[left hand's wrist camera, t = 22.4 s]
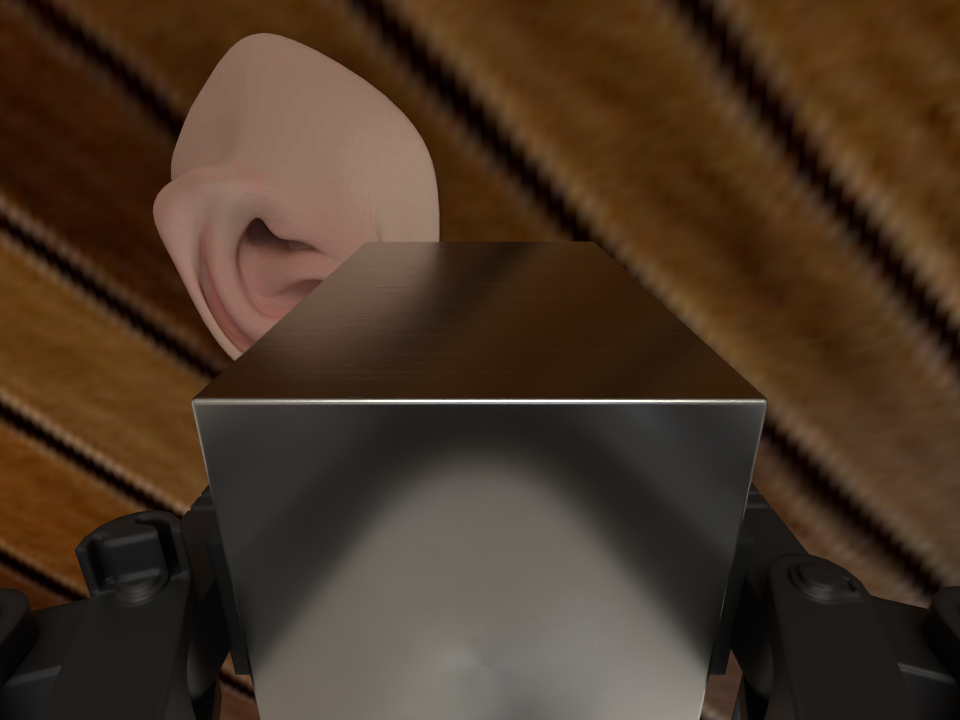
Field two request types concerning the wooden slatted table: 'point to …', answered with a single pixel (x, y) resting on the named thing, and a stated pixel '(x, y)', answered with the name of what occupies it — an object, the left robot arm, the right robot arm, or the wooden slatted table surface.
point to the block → (479, 490)
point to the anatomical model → (286, 184)
